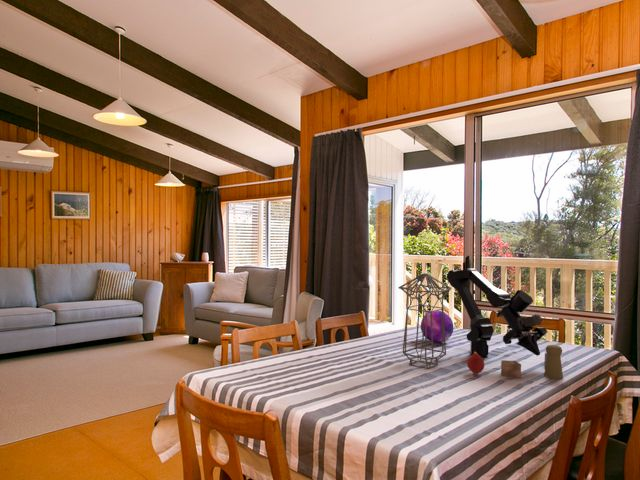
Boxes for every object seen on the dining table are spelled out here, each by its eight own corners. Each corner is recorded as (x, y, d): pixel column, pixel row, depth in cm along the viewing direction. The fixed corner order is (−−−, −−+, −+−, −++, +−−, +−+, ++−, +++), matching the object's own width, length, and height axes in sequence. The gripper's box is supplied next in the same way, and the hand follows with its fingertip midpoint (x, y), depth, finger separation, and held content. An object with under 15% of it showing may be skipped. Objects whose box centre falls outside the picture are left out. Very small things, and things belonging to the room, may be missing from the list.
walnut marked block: (506, 378, 162) (506, 363, 162) (501, 374, 167) (501, 359, 167) (520, 378, 162) (521, 363, 162) (515, 374, 167) (515, 360, 167)
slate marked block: (544, 366, 180) (544, 352, 180) (544, 363, 185) (545, 350, 185) (559, 368, 178) (559, 354, 178) (559, 365, 182) (559, 351, 182)
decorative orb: (457, 346, 212) (457, 313, 212) (423, 345, 213) (424, 312, 213) (448, 339, 227) (449, 308, 227) (417, 338, 228) (418, 308, 228)
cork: (565, 379, 162) (565, 347, 162) (546, 378, 163) (547, 346, 163) (560, 374, 168) (560, 344, 168) (542, 373, 169) (542, 343, 169)
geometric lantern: (452, 365, 177) (454, 273, 177) (431, 374, 166) (433, 276, 165) (416, 357, 188) (417, 270, 188) (393, 365, 177) (395, 272, 176)
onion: (484, 373, 168) (484, 350, 168) (484, 377, 162) (484, 354, 162) (467, 371, 169) (467, 349, 170) (466, 375, 164) (467, 352, 164)
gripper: (510, 308, 171) (535, 344, 161) (543, 305, 179) (570, 340, 169) (492, 325, 177) (516, 362, 168) (525, 323, 186) (550, 357, 176)
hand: (538, 354), depth 170 cm, fingers closed
